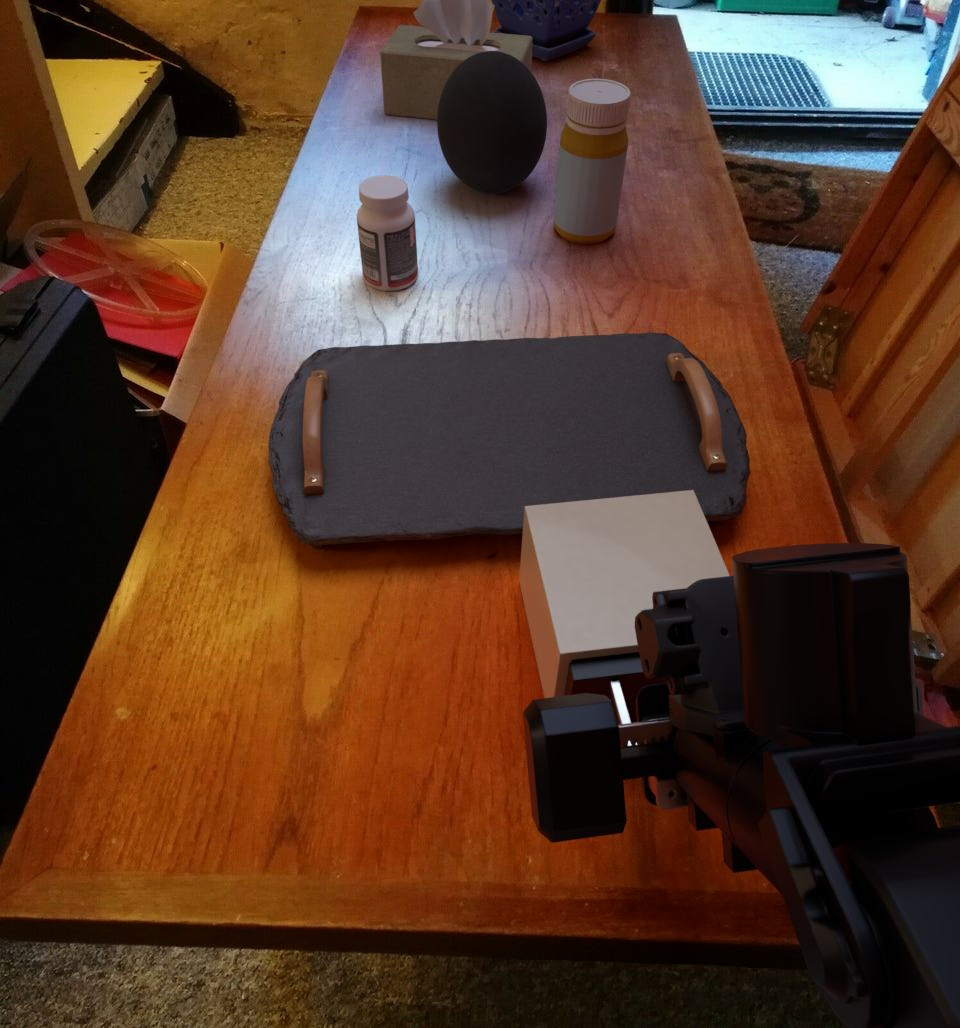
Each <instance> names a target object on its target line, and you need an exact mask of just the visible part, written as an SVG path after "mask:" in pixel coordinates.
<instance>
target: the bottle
mask: <svg viewBox="0 0 960 1028" xmlns="http://www.w3.org/2000/svg"><path fill="white" fill-rule="evenodd" d="M631 95H632V94H631V90H630V88H629V87H628V86H626V84H624V83H621V82H619V81H616V80H611V79H607V78H587V79H580V80H578V81H575V82H574V83H572V84H571V85H570V86H569V88H568V91H567V102H566V117H565V124H564V126H563V128H562V130H561V132H560V138H559V147H558V158H557V159H558V160H557V171H556V172H557V173H556V182H555V196H554V208H553V227H554V229H555V230H556V232H557V233H558V234H559V236H560V237H562V238H563V239H565V240H567V241H569V242H571V243H576V244H580V245H593V244H599V243H601V242H603V241H605V240H607V239H608V238H609V237H611V236H612V235H613V234H614V233H615V232H616V228H617V224H618V220H619V219H618V217H619V212H620V205H621V197H622V190H623V183H624V175H625V170H626V163H627V155H628V148H629V136H628V132H627V130H628V129H627V124H628V123H627V122H628V116H629V112H630V111H629V110H630V104H631Z"/></svg>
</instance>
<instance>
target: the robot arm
mask: <svg viewBox="0 0 960 1028" xmlns="http://www.w3.org/2000/svg"><path fill="white" fill-rule="evenodd" d="M731 563H732V575H730V576H726V577H716V578H707V579H701V580H698V581H696V582H694V583H693V584H691V585H690V586H689V587H687V588H685V589H675V590H666V591H657V592H653V595H652V602H653V609H647V610H642V611H641V612H640V613H638V614H637V616H636V617H635V632H636V638H637V643H638V649H639V655H640V660H641V666H642V670H643V673H644V675H645V677H647V678H648V679H657V678H663V679H664V680H665V681H666V682H667V683H660V684H652V685H647V686H644V687H643V688H642V689H641V690H640V691H639V692H638V695H637V699H636V717H637V722H635V723H627V724H619V725H618V722H617V719H616V715H615V711H614V708H613V704H612V701H611V700H610V699H609V698H608V697H607V696H606V695H597V694H588V693H584V694H575V695H567V696H559V697H551V698H544V697H543V698H542V697H541V698H536V699H532V700H531V702H530V703H529V704H528V705H527V707H526V708H525V709H524V710H523V711H522V719H523V720H522V721H523V732H524V741H525V742H524V743H525V753H526V765H527V775H528V786H529V788H528V789H529V797H530V807H531V808H530V810H531V818H532V820H533V823H534V825H535V827H536V830H537V831H538V832H539V833H540V834H541V835H542V836H544V838H546V839H547V840H548V841H549V842H550V843H551V844H553V843H561V842H568V841H575V840H583V839H591V838H597V837H598V838H599V837H604V836H612V835H619V834H623V833H624V831H625V828H626V826H627V822H628V819H627V809H626V808H627V807H626V798H625V796H626V795H625V785H624V781H628V780H635V779H641V787H642V788H641V789H642V793H643V796H644V797H645V799H646V800H647V802H648V803H649V804H651V805H652V806H657V807H658V808H659V809H660V810H662V811H666V810H673V809H680V808H687V815H688V823H689V824H690V825H691V826H692V827H693V829H694V830H695V831H696V832H699V831H706V830H712V829H713V830H714V829H719V831H721V844H722V856H723V863H724V864H725V865H726V866H727V867H728V868H729V870H730V871H731V872H732V873H733V874H736V873H744V872H750V871H759V872H760V874H761V875H762V876H763V877H764V878H765V879H766V880H767V881H768V882H769V883H770V884H771V886H773V888H775V890H776V891H778V892H779V894H780V895H781V896H782V899H783V902H784V904H785V907H786V910H787V914H788V916H789V919H790V921H791V924H792V927H793V930H794V933H795V936H796V939H797V942H798V945H799V948H800V950H801V953H802V956H803V959H804V962H805V965H806V968H807V971H808V972H809V974H810V977H811V978H812V979H813V981H814V984H815V986H816V989H817V991H818V992H819V994H821V995H822V996H824V998H825V1000H826V1003H827V1004H828V1006H829V1007H830V1008H831V1011H833V1013H834V1015H835V1016H836V1018H837V1019H838V1020H839V1021H840V1022H841V1023H842V1024H843V1025H844V1026H845V1028H960V824H956V825H949V826H942V827H941V826H940V827H939V825H938V822H937V820H936V818H935V817H936V816H935V815H934V813H933V811H932V809H931V808H930V807H936V806H944V805H951V804H959V803H960V725H953V726H946V725H944V724H941V723H940V722H937V721H935V720H933V719H930V718H928V717H927V716H925V715H924V702H923V689H922V687H921V685H920V684H919V682H918V680H917V678H916V669H915V656H914V655H915V654H914V642H913V640H914V639H913V625H912V624H913V623H912V603H911V601H912V600H911V589H910V588H911V587H910V586H911V585H910V574H909V567H908V555H907V554H906V553H904V552H902V551H901V546H900V545H895V544H888V543H887V544H885V543H872V542H871V543H870V542H869V543H867V542H830V543H828V542H827V543H805V544H794V545H782V546H773V547H772V546H771V547H765V548H759V549H753V550H747V551H743V552H739V553H736V554H734V555H733V556H731ZM628 741H630V743H631V746H627V745H628ZM636 741H637V742H638V745H636ZM621 744H622V746H621Z"/></svg>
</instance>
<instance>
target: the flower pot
mask: <svg viewBox="0 0 960 1028" xmlns="http://www.w3.org/2000/svg"><path fill="white" fill-rule="evenodd" d="M491 2H492V3H493V4H494V5H495V7H494V10H493V11H494V14H495V15H496V18H497V20H498V23H499V25H500V27H498V28H496V29H494V31H493V33H503V34H515V35H527V36H531V37H532V57H535V58H537V59H540V60H541V61H543V62H547V61H551V60H554V59H557V58H559V57H562V56H564V55H567V54H569V53H572V52H574V51H577V50H580V49H582V48H584V47H586V46H587V45H589V44H590V43H591V42H592V41H593V40H594V39H595V37H596V36H597V32H596V31H595V30H592V29H590V28H588V27H589V25H590V24H591V22H592V21H593V19H594V17H595V15H596V13H597V11H598V9H599V6H600V4H601V2H602V0H491Z"/></svg>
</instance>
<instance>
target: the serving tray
mask: <svg viewBox="0 0 960 1028" xmlns="http://www.w3.org/2000/svg"><path fill="white" fill-rule="evenodd" d="M740 417H741V416H740V415H739V412H738V410H737V408H736V406H735V404H734V400H733V399H732V397H731V395H730V394H729V393H728V391H727V390H726V388H725V387H724V386H723V384H722V382H721V381H720V380H719V379H718V378H717V376H716V375H715V374H714V373H713V372H712V371H711V370H710V369H709V367H708V366H707V365H706V364H705V363H704V362H703V361H702V360H701V359H700V358H699V357H698V356H697V355H695V354H694V353H693V352H692V351H690V350H689V349H688V348H687V346H685V344H684V343H683V342H681V341H680V340H679V339H677V338H676V337H674V336H671V334H668V333H663V332H643V333H642V332H641V333H625V332H624V333H612V334H593V335H592V334H589V335H569V336H567V335H566V336H557V337H519V338H509V339H497V338H496V339H486V340H478V339H473V340H472V339H471V340H461V341H443V342H422V343H396V344H381V345H357V346H341V347H340V346H333V347H326V348H320V349H317V350H316V351H314V352H313V353H312V354H311V355H309V356H308V357H307V358H306V359H304V361H302V363H301V365H300V366H299V367H298V369H297V370H296V371H295V372H294V374H293V378H292V379H290V382H288V384H287V385H286V387H285V389H284V391H283V393H282V394H281V397H280V399H279V401H278V408H277V411H276V413H275V415H274V418H273V421H272V424H271V427H270V431H269V435H268V459H267V462H268V464H269V468H270V470H271V474H272V490H273V493H274V496H275V500H276V502H277V503H278V504H279V506H280V508H282V509H281V510H282V515H283V516H284V517H285V519H286V520H287V524H288V527H289V528H290V530H291V531H292V533H293V534H294V535H295V536H296V538H298V540H299V541H300V542H301V543H303V544H306V545H309V546H310V547H311V548H313V549H316V550H320V549H323V548H325V547H326V546H327V545H328V546H329V545H340V544H341V545H342V544H354V543H355V544H356V543H361V544H362V543H373V542H375V543H376V542H395V541H414V540H415V541H416V540H418V541H419V540H420V541H421V540H424V541H435V540H442V539H447V538H454V537H463V536H470V535H471V536H472V535H477V534H478V535H479V534H481V535H499V536H500V535H501V536H511V535H512V536H513V535H523V522H524V508H525V506H532V505H542V504H552V503H563V502H573V501H584V500H594V499H604V498H615V497H625V496H635V495H646V494H656V493H667V492H677V491H687V490H694V492H695V495H696V497H697V499H698V502H699V504H700V507H701V509H702V511H703V514H704V516H705V518H706V521H707V522H710V523H712V524H715V525H721V524H722V523H724V522H726V521H727V520H732V519H737V518H738V517H740V516H741V515H742V514H743V511H745V510H744V509H745V507H746V504H747V503H746V502H747V486H748V481H749V479H750V475H751V469H750V463H751V459H750V458H751V457H750V454H749V451H748V447H747V443H748V442H747V439H748V438H747V437H748V436H747V432H746V431H747V430H746V428H745V426H744V423H743V422H742V421H743V420H741V418H740Z"/></svg>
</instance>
